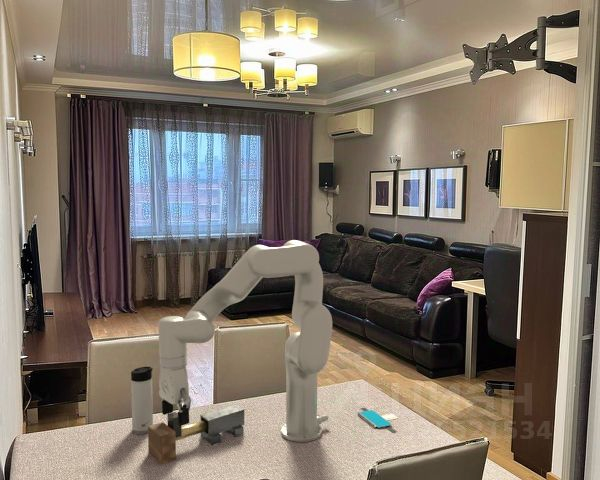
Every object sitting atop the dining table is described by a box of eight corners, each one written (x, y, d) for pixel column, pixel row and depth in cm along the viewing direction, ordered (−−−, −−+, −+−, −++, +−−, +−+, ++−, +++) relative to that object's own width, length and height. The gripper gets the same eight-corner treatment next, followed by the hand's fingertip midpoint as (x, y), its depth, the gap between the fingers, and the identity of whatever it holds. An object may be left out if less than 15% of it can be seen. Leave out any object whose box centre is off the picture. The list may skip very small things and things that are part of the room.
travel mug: (148, 435, 163) (146, 372, 161) (128, 433, 165) (126, 370, 163) (157, 426, 169) (156, 365, 167) (138, 424, 171) (137, 363, 169)
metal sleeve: (233, 426, 170) (233, 403, 170) (246, 433, 165) (246, 410, 164) (199, 437, 162) (198, 413, 162) (210, 446, 157) (210, 421, 156)
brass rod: (210, 425, 163) (210, 401, 162) (216, 430, 160) (216, 405, 159) (154, 443, 151) (154, 417, 150) (160, 448, 148) (159, 422, 148)
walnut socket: (163, 448, 155) (162, 422, 154) (175, 459, 149) (175, 431, 148) (148, 453, 152) (147, 426, 152) (160, 464, 146) (160, 436, 146)
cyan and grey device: (412, 430, 169) (412, 425, 169) (380, 437, 164) (380, 432, 164) (379, 406, 187) (379, 402, 187) (349, 412, 183) (349, 407, 183)
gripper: (147, 356, 155) (150, 412, 157) (175, 371, 142) (177, 433, 143) (171, 350, 160) (173, 405, 161) (200, 365, 146) (202, 425, 148)
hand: (175, 418), depth 152 cm, fingers open, 9 cm apart
